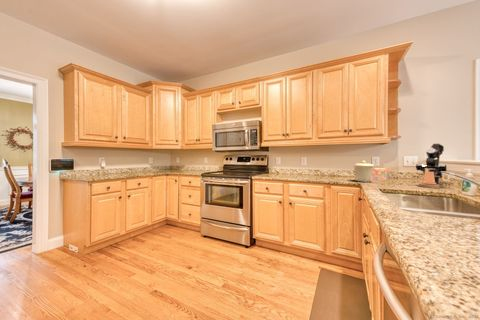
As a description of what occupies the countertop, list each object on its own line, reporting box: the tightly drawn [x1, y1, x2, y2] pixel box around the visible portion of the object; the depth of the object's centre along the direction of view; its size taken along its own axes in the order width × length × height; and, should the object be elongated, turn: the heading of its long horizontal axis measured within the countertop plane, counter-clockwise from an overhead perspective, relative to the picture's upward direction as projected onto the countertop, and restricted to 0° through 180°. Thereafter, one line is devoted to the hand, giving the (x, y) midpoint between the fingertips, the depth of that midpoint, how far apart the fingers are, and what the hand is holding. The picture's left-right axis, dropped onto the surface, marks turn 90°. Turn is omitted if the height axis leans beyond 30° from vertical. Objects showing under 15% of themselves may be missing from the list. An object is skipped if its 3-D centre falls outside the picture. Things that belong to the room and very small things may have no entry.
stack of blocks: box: [371, 167, 389, 181], centre depth 223 cm, size 21×6×12 cm, turn 77°
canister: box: [353, 160, 375, 183], centre depth 208 cm, size 18×18×21 cm
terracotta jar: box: [422, 171, 436, 184], centre depth 172 cm, size 7×7×10 cm
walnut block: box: [417, 182, 442, 190], centre depth 172 cm, size 12×12×3 cm
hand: (429, 174), depth 171 cm, fingers closed on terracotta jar, 6 cm apart
